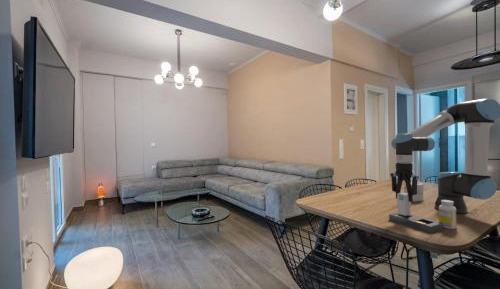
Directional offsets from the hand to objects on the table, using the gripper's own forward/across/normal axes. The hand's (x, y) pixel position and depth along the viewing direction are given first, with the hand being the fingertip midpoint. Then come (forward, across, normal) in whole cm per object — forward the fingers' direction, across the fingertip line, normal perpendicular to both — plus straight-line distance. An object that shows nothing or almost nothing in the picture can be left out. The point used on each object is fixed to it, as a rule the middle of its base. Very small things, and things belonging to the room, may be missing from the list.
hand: (404, 206), depth 123 cm
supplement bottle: (+8, +14, +11) cm, 20 cm away
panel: (+8, +5, 0) cm, 10 cm away
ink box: (+8, -23, +49) cm, 55 cm away
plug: (+4, 0, 0) cm, 4 cm away
